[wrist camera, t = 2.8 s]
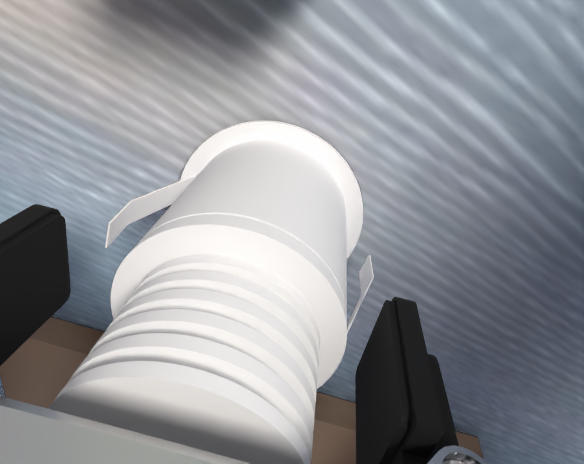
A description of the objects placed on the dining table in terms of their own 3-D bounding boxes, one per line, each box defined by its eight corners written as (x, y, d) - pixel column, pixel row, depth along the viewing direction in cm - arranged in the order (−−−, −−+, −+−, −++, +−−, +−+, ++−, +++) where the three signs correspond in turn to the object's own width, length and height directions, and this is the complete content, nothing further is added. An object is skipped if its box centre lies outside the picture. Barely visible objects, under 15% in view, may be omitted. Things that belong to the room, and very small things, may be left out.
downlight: (155, 242, 17) (-46, 493, 8) (193, 80, 13) (-89, 217, 5) (329, 308, 17) (313, 605, 9) (409, 169, 14) (512, 435, 5)
